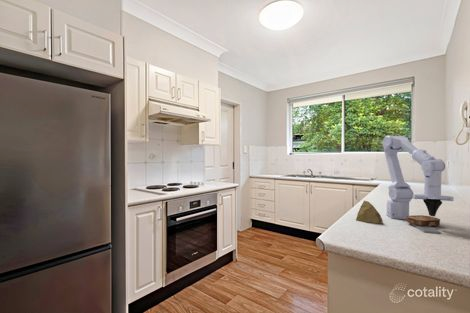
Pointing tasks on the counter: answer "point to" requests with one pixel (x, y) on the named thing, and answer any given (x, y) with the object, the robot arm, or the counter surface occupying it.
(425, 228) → the gray sheet
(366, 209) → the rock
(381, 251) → the counter surface
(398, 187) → the robot arm
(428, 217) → the tin
